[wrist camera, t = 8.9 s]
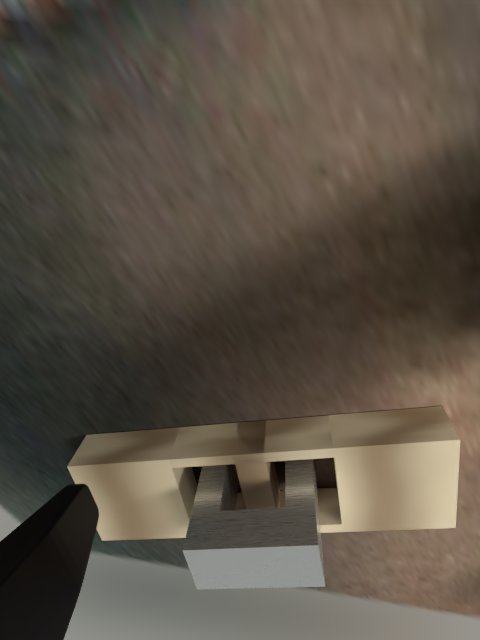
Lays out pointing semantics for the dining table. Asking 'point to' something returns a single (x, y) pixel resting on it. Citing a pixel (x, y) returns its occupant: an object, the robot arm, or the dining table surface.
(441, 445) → the rail
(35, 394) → the dining table surface
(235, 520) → the clip
